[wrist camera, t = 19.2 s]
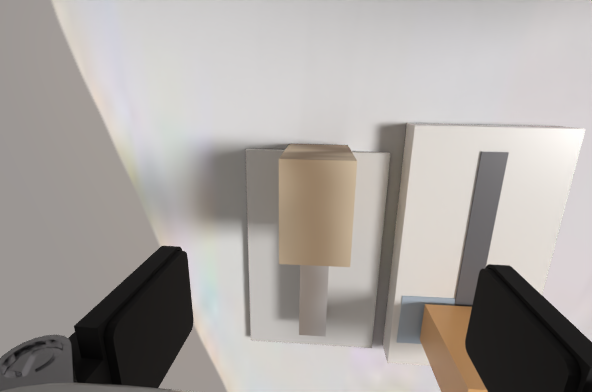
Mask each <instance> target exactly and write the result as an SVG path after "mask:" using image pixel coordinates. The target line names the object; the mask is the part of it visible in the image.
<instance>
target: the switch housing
mask: <svg viewBox="0 0 592 392" xmlns="http://www.w3.org/2000/svg"><path fill="white" fill-rule="evenodd" d="M584 133H585V129H581V128H572V127H563V126H517V125H467V124H417V123H407V126H406V135H405V145H404V154H403V163H402V172H401V181H400V191H399V200H398V209H397V218H396V227H395V237H394V246H393V255H392V264H391V273H390V282H389V292H388V301H387V310H386V319H385V328H384V338H383V347H384V351H385V355H386V359H387V363H397V364H412V365H427V366H431V365H430V363H429V361H428V358H427V356H426V354H425V351H424V349H423V346H422V344H421V342H420V334H421V327H422V320H423V313H424V306H425V304H432V305H450V306H469V307H472V305H473V300H474V295H475V290H476V286H477V281H478V276H479V272H480V270H481V269H485V268H486V266H487V265H489V264H493V265H510V266H511V267H512V268H513V269H515V270H516V271H517V272H518V273H519V274H520V275H521V276H522V277H523V278H524V279H525V280H526V281H527V282H528V283H529V284H530V285H531V286H533V287H534V288H535V289H536V290H537V291H538V292H539V293H540V294H541V295H542V294H543V290H544V286H545V282H546V278H547V275H548V271H549V267H550V263H551V259H552V256H553V252H554V248H555V244H556V240H557V236H558V233H559V229H560V225H561V221H562V217H563V213H564V210H565V206H566V202H567V198H568V194H569V191H570V187H571V183H572V179H573V175H574V171H575V168H576V164H577V160H578V156H579V152H580V148H581V145H582V141H583V137H584Z"/></svg>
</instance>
